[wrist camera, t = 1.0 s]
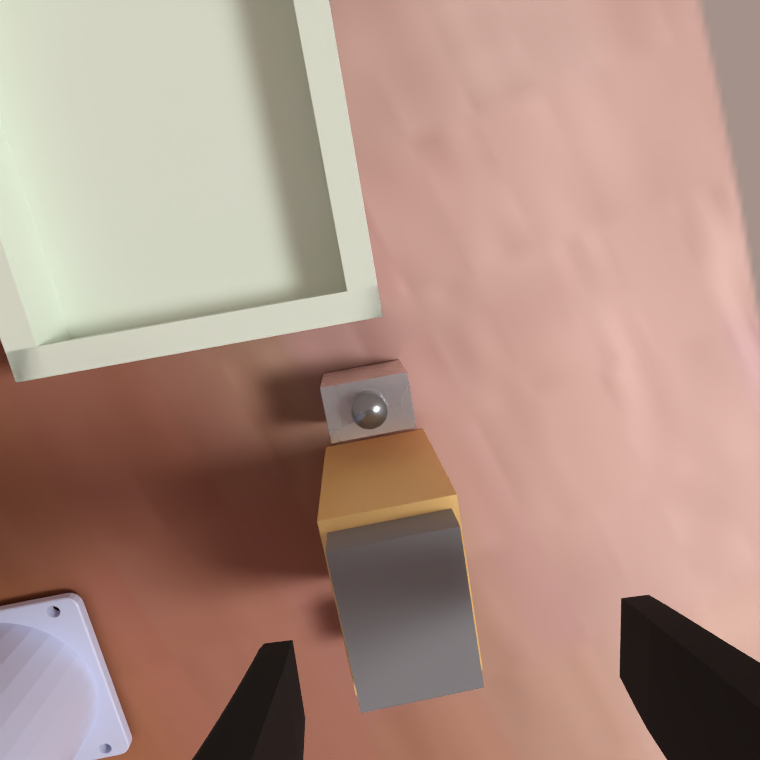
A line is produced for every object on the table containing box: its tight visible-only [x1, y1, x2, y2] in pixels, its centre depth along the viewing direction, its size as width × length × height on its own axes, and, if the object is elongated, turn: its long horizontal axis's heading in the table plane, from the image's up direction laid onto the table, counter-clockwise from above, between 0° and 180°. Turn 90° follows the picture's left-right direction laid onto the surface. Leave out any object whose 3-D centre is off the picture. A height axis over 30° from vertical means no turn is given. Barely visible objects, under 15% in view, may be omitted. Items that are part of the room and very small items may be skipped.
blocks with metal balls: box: [320, 360, 416, 443], centre depth 18 cm, size 3×12×3 cm, turn 10°
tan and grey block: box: [317, 429, 484, 713], centre depth 16 cm, size 4×6×7 cm, turn 10°
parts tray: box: [0, 0, 383, 382], centre depth 15 cm, size 12×14×2 cm
